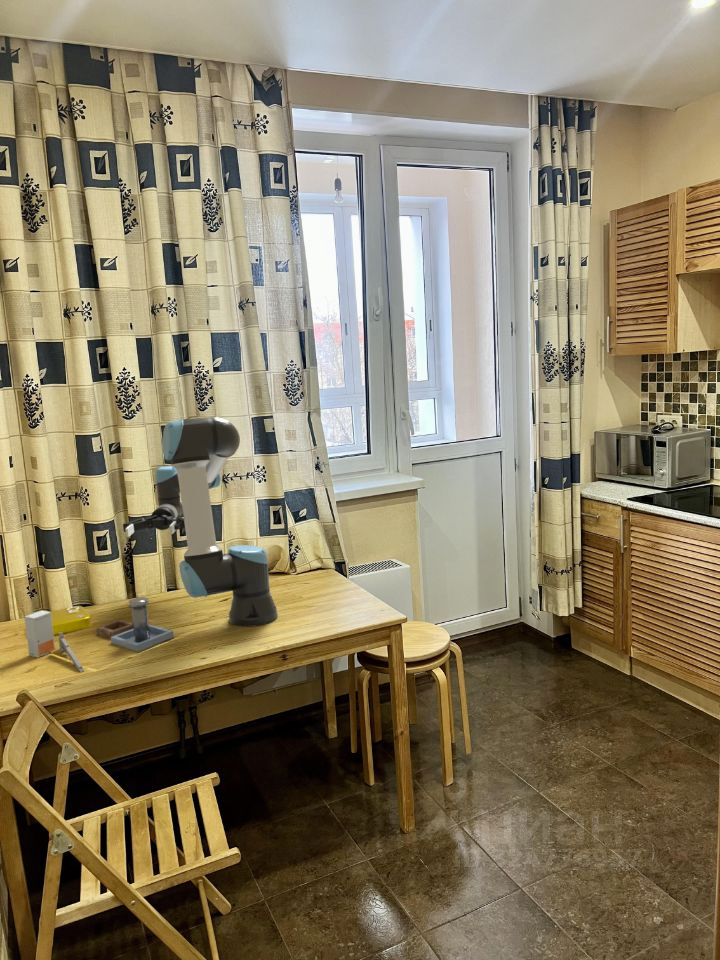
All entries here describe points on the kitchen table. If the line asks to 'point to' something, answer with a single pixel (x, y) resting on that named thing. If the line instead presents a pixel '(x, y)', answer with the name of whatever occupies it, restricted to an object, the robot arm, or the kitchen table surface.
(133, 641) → the tray
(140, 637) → the blue-grey cylinder
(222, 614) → the kitchen table surface
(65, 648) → the caliper
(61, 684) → the kitchen table surface
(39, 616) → the skincare box
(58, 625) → the element tile
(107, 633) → the socket block
